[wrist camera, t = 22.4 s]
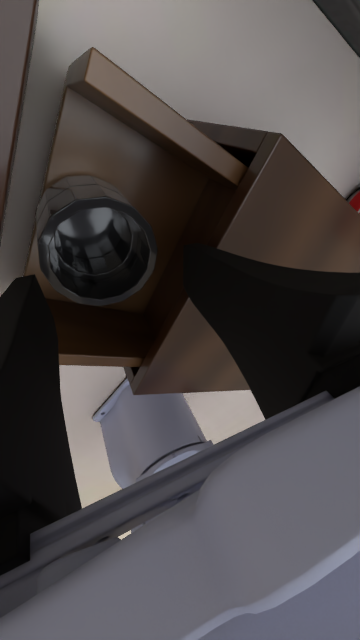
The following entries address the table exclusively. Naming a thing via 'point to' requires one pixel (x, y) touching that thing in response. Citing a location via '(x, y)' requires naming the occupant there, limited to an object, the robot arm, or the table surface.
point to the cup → (93, 241)
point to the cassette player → (344, 19)
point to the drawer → (115, 184)
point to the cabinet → (253, 254)
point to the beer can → (355, 201)
